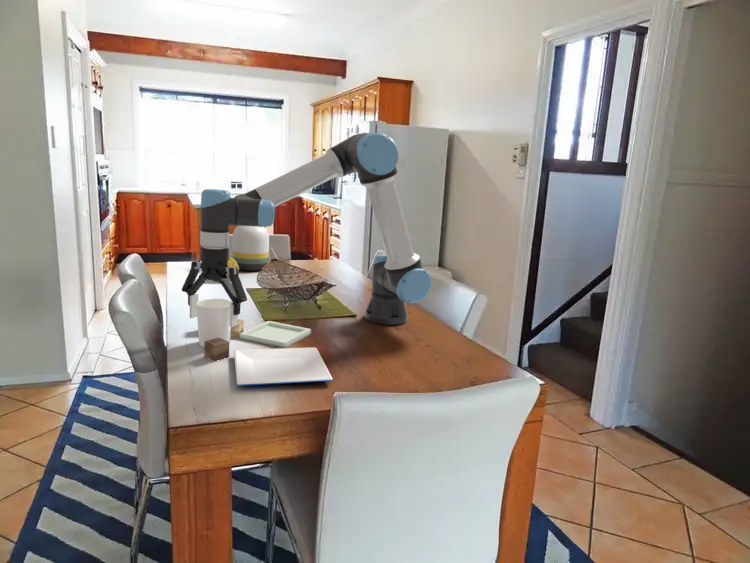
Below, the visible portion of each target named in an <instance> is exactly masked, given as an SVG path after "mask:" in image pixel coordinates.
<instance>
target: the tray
mask: <svg viewBox="0 0 750 563" xmlns="http://www.w3.org/2000/svg"><path fill="white" fill-rule="evenodd" d="M311 334H312V329H311V328H307V327H303V326H297V325H292V324H288V323H282V322H281V323H280V322H276V321H272V320H267V321H265V322H263V323H260V324H258V325H256V326H254V327H251V328H248V329H247V330H245V331H244V330H243V332H242V333H240V338H239V339H240V340H243V341H248V342H252V343H256V344H258V343H259V344H263V345H267V346H270V347H271V346H272V347H276V348H280V349H282V348H289V347H290V346H292V345H293V344H296V343H297V342H299V341H301V340H303V339H305V338H306V337H308V336H310V335H311Z"/></svg>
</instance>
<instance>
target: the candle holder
mask: <svg viewBox="0 0 750 563" xmlns="http://www.w3.org/2000/svg"><path fill="white" fill-rule="evenodd" d="M231 303H233V302H232V301H231V300H229V299H223V298H207V299H201V300H198V302H197V303H196V307H197V317H196V318H197V319H196V320H197V321H196V322H197V332H198V335H197V336H198V344H199V346H200V347H201V346H202V347H201V348H204V341H207V340H211V339H215V338H221V339H224V340H226V341H229V344H230V342H231V338H230V333H231V327H230V304H231Z"/></svg>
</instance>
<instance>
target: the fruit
mask: <svg viewBox="0 0 750 563" xmlns="http://www.w3.org/2000/svg"><path fill="white" fill-rule="evenodd" d="M227 265H228V267H237V268H238V273H239V270H240V269H239V266H238V264H237V262H236V261H235V260H234V259H233V258H232V256H229V260H228V263H227ZM227 275H228V272H227ZM228 277H229V275H228ZM229 278H230V277H229ZM223 279H224V278H223Z"/></svg>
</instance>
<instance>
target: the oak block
mask: <svg viewBox="0 0 750 563" xmlns="http://www.w3.org/2000/svg"><path fill="white" fill-rule="evenodd" d="M244 320H245V319H239V318H238V325H236V326H233V327H231V333H230V339H240V333H242V332H244V328H245V327H244V325H245V324H244V323H245V322H244Z"/></svg>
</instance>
